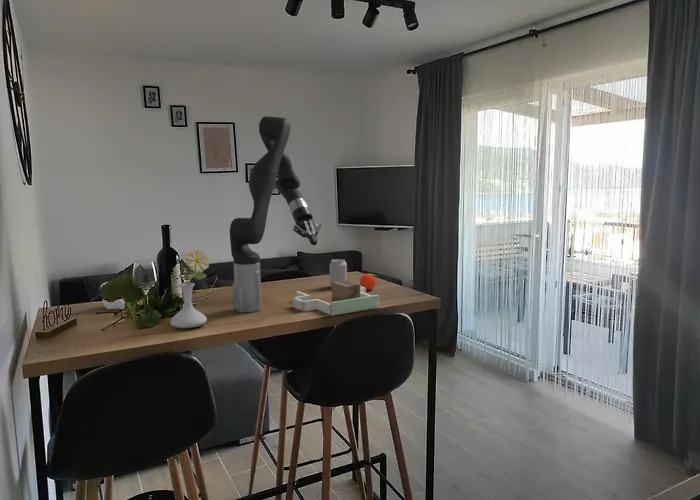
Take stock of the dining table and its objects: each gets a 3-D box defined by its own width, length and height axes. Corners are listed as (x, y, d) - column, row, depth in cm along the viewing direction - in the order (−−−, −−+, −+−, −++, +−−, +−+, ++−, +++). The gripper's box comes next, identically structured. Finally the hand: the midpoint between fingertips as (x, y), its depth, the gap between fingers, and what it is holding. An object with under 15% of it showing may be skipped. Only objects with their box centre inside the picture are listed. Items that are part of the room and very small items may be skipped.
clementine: (379, 288, 217) (379, 271, 216) (378, 291, 210) (378, 275, 209) (360, 287, 218) (360, 271, 217) (359, 291, 211) (359, 274, 210)
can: (350, 286, 220) (350, 259, 218) (338, 289, 214) (338, 262, 213) (338, 284, 225) (338, 258, 223) (326, 287, 219) (325, 260, 218)
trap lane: (317, 318, 171) (316, 305, 170) (283, 302, 193) (282, 290, 192) (391, 305, 188) (391, 293, 187) (352, 291, 210) (352, 281, 209)
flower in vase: (171, 333, 155) (167, 253, 152) (169, 323, 165) (164, 248, 162) (214, 328, 160) (211, 250, 157) (209, 319, 171) (206, 245, 167)
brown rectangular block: (346, 311, 180) (346, 286, 179) (331, 305, 188) (331, 281, 187) (360, 308, 183) (360, 284, 182) (345, 303, 191) (345, 280, 190)
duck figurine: (106, 311, 189) (85, 291, 183) (121, 297, 193) (101, 276, 186) (120, 317, 181) (98, 296, 175) (135, 302, 185) (115, 281, 178)
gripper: (288, 206, 203) (303, 239, 195) (317, 205, 211) (332, 237, 202) (283, 218, 209) (297, 251, 200) (311, 217, 216) (326, 248, 207)
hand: (314, 243), depth 201 cm, fingers closed
